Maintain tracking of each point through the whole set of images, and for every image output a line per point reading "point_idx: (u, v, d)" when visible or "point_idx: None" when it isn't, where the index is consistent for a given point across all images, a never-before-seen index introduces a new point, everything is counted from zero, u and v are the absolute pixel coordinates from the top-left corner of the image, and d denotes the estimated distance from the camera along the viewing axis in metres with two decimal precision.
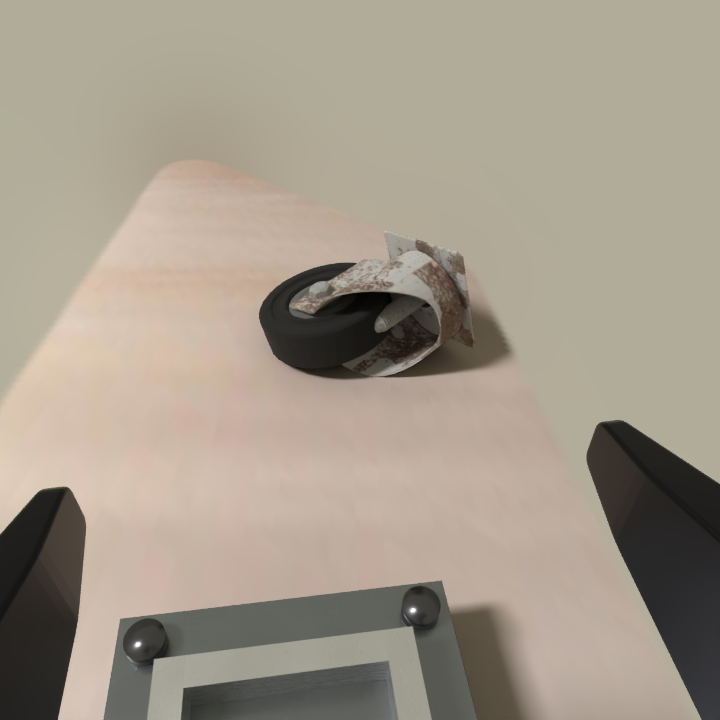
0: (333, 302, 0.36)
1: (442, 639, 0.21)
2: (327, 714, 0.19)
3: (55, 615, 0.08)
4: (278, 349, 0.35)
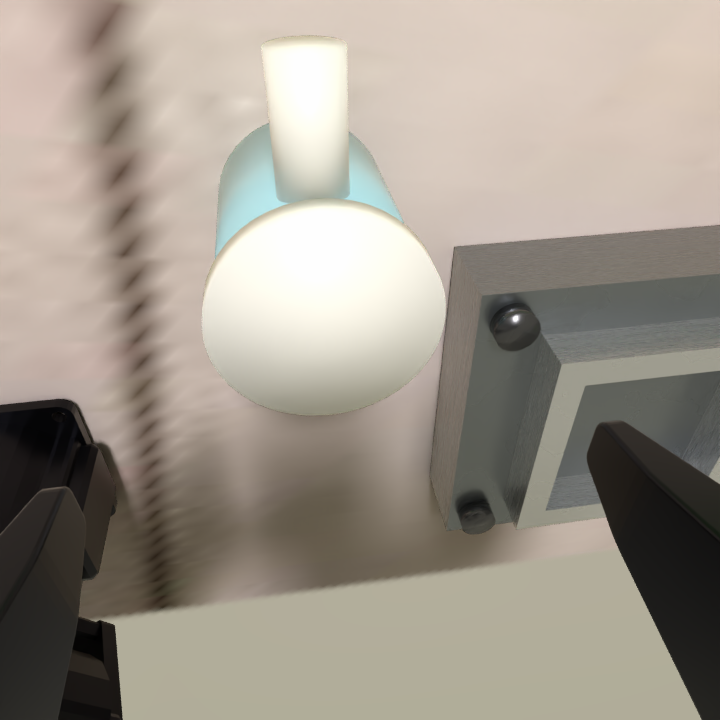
0: None
1: None
2: (677, 428, 0.23)
3: (55, 615, 0.08)
4: None
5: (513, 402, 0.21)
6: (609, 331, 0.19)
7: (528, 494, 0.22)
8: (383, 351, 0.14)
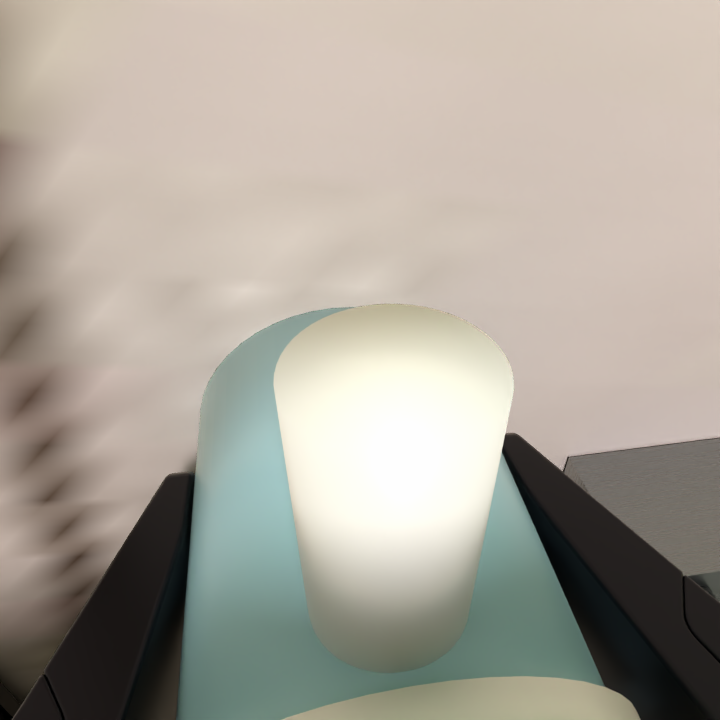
0: None
1: None
2: None
3: None
4: None
5: None
6: None
7: None
8: None
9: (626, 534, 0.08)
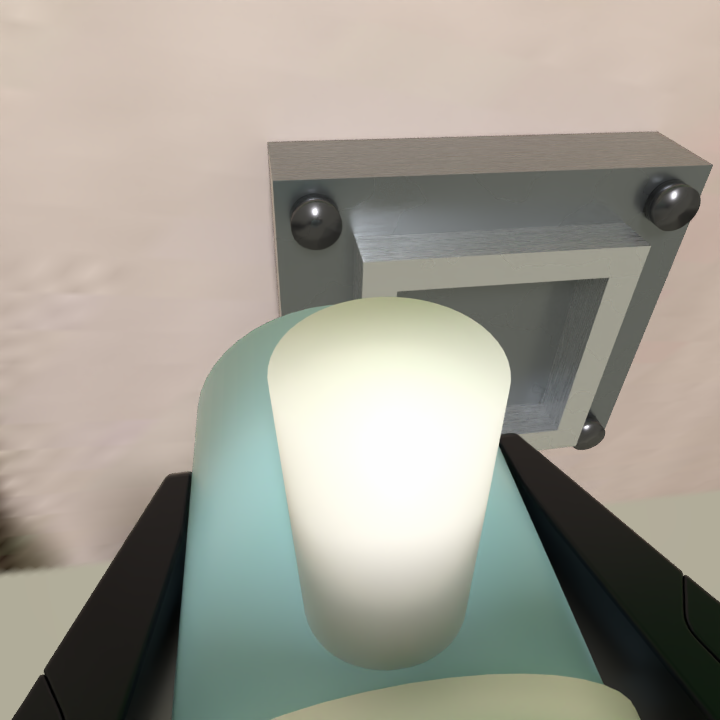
0: None
1: None
2: (532, 362, 0.21)
3: None
4: None
5: None
6: (429, 235, 0.17)
7: None
8: None
9: (626, 534, 0.08)
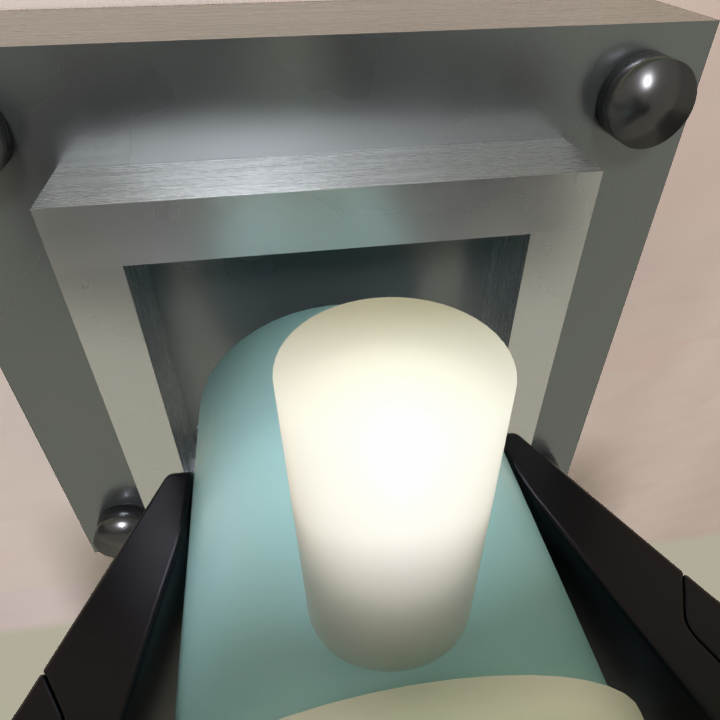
0: None
1: None
2: None
3: None
4: None
5: None
6: (196, 163, 0.10)
7: (144, 492, 0.12)
8: None
9: (626, 534, 0.08)
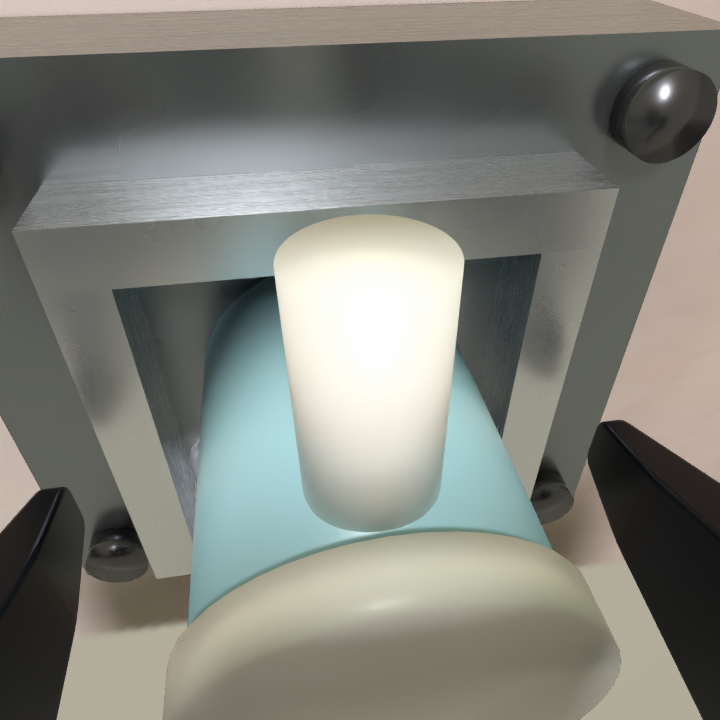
0: None
1: None
2: None
3: (54, 615, 0.08)
4: None
5: None
6: (189, 180, 0.09)
7: (137, 519, 0.12)
8: None
9: None
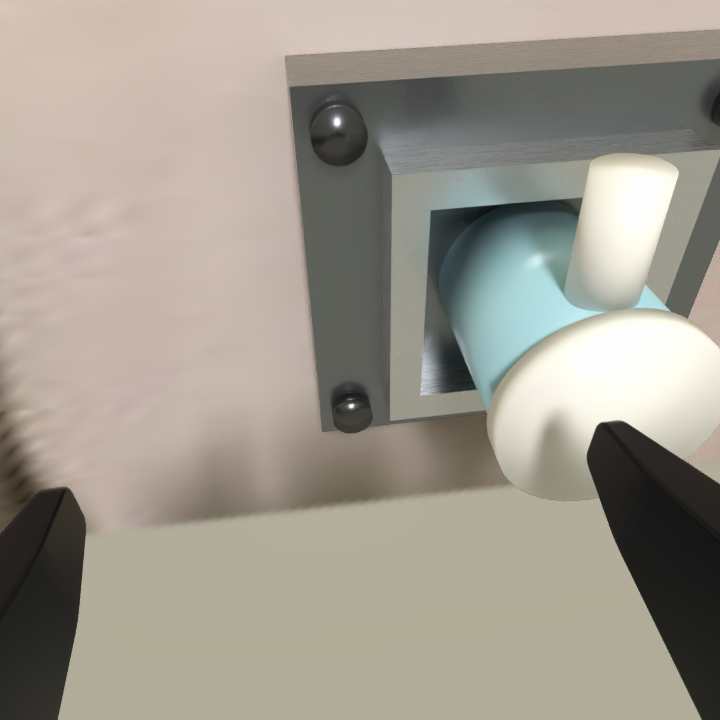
0: None
1: None
2: None
3: (55, 615, 0.08)
4: None
5: (365, 253, 0.17)
6: (466, 148, 0.15)
7: (393, 371, 0.18)
8: None
9: None
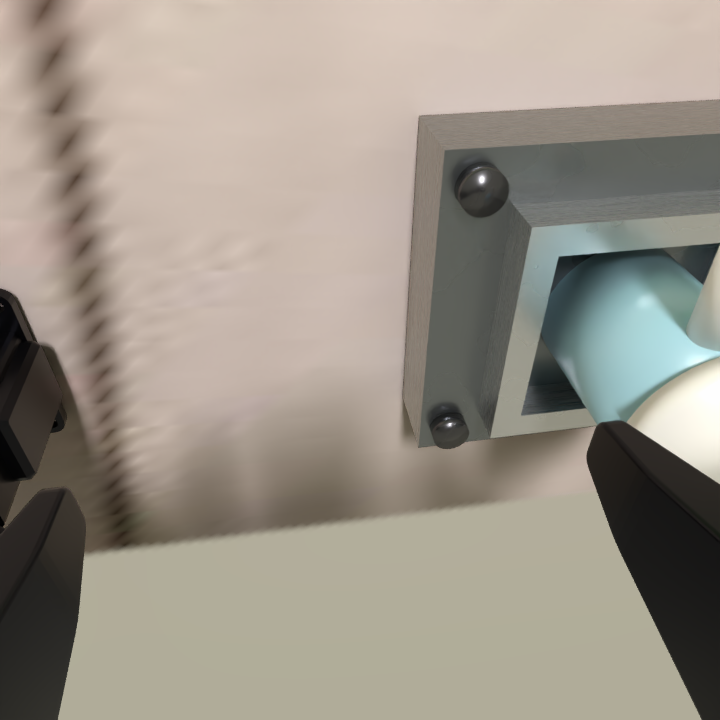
0: None
1: None
2: None
3: (55, 615, 0.08)
4: None
5: (484, 289, 0.19)
6: (585, 201, 0.18)
7: (501, 394, 0.20)
8: None
9: None
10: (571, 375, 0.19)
